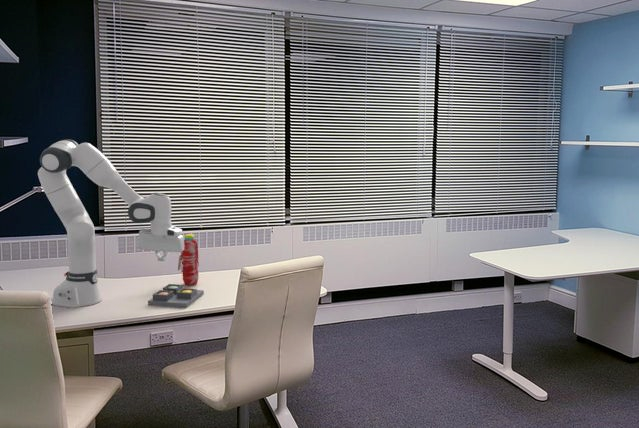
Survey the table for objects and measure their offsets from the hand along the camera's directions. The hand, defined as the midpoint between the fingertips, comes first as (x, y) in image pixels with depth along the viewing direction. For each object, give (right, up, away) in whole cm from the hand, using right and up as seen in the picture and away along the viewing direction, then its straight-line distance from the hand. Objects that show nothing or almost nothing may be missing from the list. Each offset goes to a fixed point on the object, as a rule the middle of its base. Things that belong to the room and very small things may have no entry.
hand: (161, 260), depth 261 cm
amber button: (+10, -16, +6) cm, 20 cm away
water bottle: (+5, -14, +33) cm, 36 cm away
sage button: (+2, -15, +13) cm, 20 cm away
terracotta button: (0, -17, +3) cm, 17 cm away
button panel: (+5, -18, +7) cm, 20 cm away
